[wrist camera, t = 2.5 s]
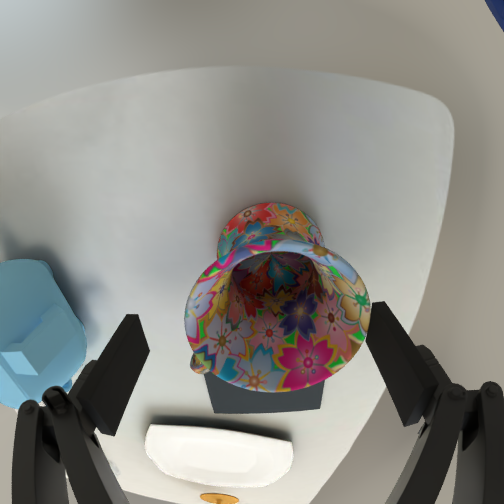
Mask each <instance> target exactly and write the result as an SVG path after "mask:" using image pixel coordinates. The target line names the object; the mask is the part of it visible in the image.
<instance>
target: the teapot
mask: <svg viewBox="0 0 504 504" xmlns="http://www.w3.org/2000/svg"><path fill="white" fill-rule="evenodd" d="M86 348H87V341H86V336H85V328H84V325H83V324H82V322H81V321H80V320H79V319H78V318H77V317H76V316H75V315H74V313H73V311H72V309H71V308H70V306H69V304H68V302H67V301H66V299H65V297H64V296H63V294H62V292H61V291H60V289H59V287H58V286H57V284H56V282H55V281H54V279H53V272H52V270H51V268H50V266H49V265H48V264H47V263H46V262H45V261H43V260H39V261H36V260H31V259H14V260H9V261H5V262H2V263H0V403H1V404H4V405H6V406H8V407H11V408H15V409H19V407H20V405H21V404H22V403H23V402H25V401H26V400H29V399H32V400H35V401H37V403H39V402H41V401H42V395H43V393H44V391H45V390H47V389H48V388H50V387H52V386H61V387H62V388H63V389H64V390H65V392H68V391H69V390H70V389H71V387H72V380H71V377H72V376H73V375H74V374H75V373H76V372H77V371H78V369H79V368H80V366H81V365H82V363H83V362H84V360H85V357H86Z"/></svg>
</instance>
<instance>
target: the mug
mask: <svg viewBox="0 0 504 504" xmlns="http://www.w3.org/2000/svg"><path fill="white" fill-rule="evenodd" d="M184 321H185V330H186V335H187V338H188V341H189V344H190V346H191V348H192V350H193V352H194V353H193V356H192V358H191V362H190V367H191V369H192V370H193V371H194V372H196V373H198V374H205V373H207V372H209V371H211V372H212V373H213V374H215V375H216V376H218V377H219V378H221V379H223V380H225V381H226V382H228V383H231V384H233V385H235V386H238V387H241V388H245V389H249V390H254V391H260V392H287V391H293V390H298V389H302V388H306V387H309V386H312V385H314V384H317V383H319V382H321V381H323V380H325V379H327V378H329V377H330V376H332V375H333V374H335V373H336V372H338V371H339V370H340V369H342V368H343V367H344V366H345V365H346V364H347V363H348V362H349V361H350V360H351V359H352V358H353V357H354V355H355V354H356V353H357V351H358V350H359V348H360V347H361V345H362V343H363V341H364V339H365V337H366V334H367V331H368V327H369V323H370V300H369V296H368V292H367V290H366V287H365V285H364V283H363V281H362V279H361V277H360V276H359V275H358V273H357V272H356V270H355V269H354V268H353V267H352V266H351V265H350V264H349V263H348V262H347V261H346V260H344V259H343V258H342V257H340V256H339V255H337V254H336V253H334V252H332V251H330V250H328V249H327V248H325V247H324V241H323V238H322V235H321V233H320V231H319V229H318V227H317V225H316V224H315V223H314V222H313V220H312V219H311V218H310V217H309V216H307V215H306V214H305V213H303V212H302V211H300V210H299V209H297V208H295V207H292V206H289V205H286V204H281V203H263V204H258V205H254V206H251V207H249V208H247V209H245V210H243V211H241V212H240V213H238V214H237V215H236V216H235V217H233V218H232V219H231V220H230V222H229V223H228V224H227V225H226V227H225V228H224V230H223V232H222V234H221V236H220V239H219V242H218V248H217V260H216V261H215V262H214V263H213V264H212V265H210V266H209V267H208V268H207V269H206V270H205V271H204V272H203V273H202V275H201V276H200V277H199V279H198V280H197V281H196V283H195V285H194V286H193V288H192V290H191V292H190V295H189V297H188V300H187V303H186V308H185V318H184ZM200 363H201V364H200Z"/></svg>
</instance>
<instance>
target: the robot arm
mask: <svg viewBox="0 0 504 504" xmlns="http://www.w3.org/2000/svg"><path fill="white" fill-rule="evenodd" d="M503 1H504V0H503ZM366 343H367V345H368V348H369V350H370V352H371V354H372V356H373V358H374V360H375V362H376V364H377V367H378V369H379V371H380V373H381V375H382V377H383V380H384V382H385V384H386V386H387V388H388V391H389V393H390V395H391V397H392V400H393V402H394V404H395V407H396V409H397V411H398V414H399V416H400V418H401V421H402V423H403V426H404V427H406V426H409V425H412V424H415V423H418V422H419V420H420V419H421V417H422V415H423V417H424V419H425V422H424V424H423V426H422V427H421V429H420V430H419V432H418V434H419V436H418V439H417V441H416V444H415V446H414V448H413V450H412V453H411V455H410V457H409V459H408V461H407V463H406V465H405V467H404V470H403V472H402V473H401V475H400V478H399V479H398V482H397V483H396V485H395V487H394V489H393V490H392V492H391V494H390V496H389V497H388V499H387V501H386V503H385V504H435V501H436V499H437V497H438V495H439V492H440V490H441V487H442V485H443V482H444V480H445V477H446V474H447V472H448V468H449V466H450V463H451V460H452V457H453V454H454V450H455V447H456V444H457V440H458V455H457V470H456V479H455V480H456V481H455V488H454V495H453V502H452V504H504V397H503V391H502V389H501V387H500V386H499V385H498V384H497V383H495V382H491V381H489V382H485V383H484V384H483V385H482V387H481V389H480V390H469V391H468V390H466V389H465V388H464V387H462V386H461V385H459V384H455V383H452V382H451V380H450V379H449V377H448V376H447V374H446V373H445V371H444V370H443V368H442V367H441V365H440V364H439V362H438V361H437V359H436V358H435V356H434V355H433V353H432V352H431V350H429V349H428V348H427V347H425V346H424V345H420V346H415V345H414V344H413V342H412V340H411V339H410V337H409V336H408V334H407V333H406V331H405V330H404V328H403V327H402V325H401V324H400V323H399V321H398V320H397V318H396V317H395V315H394V314H393V313H392V311H391V310H390V308H389V307H388V306H387V304H386V303H385V301H383V302H374V303H372V308H371V314H370V323H369V327H368V331H367V336H366ZM149 352H150V350H149V347H148V344H147V341H146V338H145V335H144V331H143V328H142V325H141V322H140V319H139V315H138V314H127V315H126V316H125V318H124V319H123V321H122V322H121V324H120V325H119V327H118V328H117V330H116V331H115V333H114V334H113V336H112V338H111V339H110V341H109V342H108V344H107V345H106V347H105V349H104V350H103V352H102V353H101V355H100V357H99V358H98V360H91V361H90V362H89V363H88V364H87V365H85V367H84V369H83V370H82V372H81V374H80V375H79V377H78V379H77V380H76V382H75V383H74V385H73V386H72V388H71V390H70V391H69V393H68V395H67V393H66V392H65V390H64V389H63V388H62V387H61V386H52V387H50V388H48V389H47V390H45V391H44V393H43V395H42V401H43V402H44V404H45V405H46V406H44V407H40V406H39V404H38V403H37V401H35V400H32V399H29V400H26V401H25V402H23V403H22V404H21V405H20V407H19V411H18V418H17V423H16V431H15V439H14V449H13V462H12V504H69V500H68V492H67V484H66V473H67V476H68V479H69V482H70V484H71V487H72V490H73V492H74V495H75V497H76V500H77V502H78V504H130V503H129V501H128V500H127V498H126V496H125V494H124V493H123V491H122V489H121V487H120V485H119V483H118V481H117V479H116V477H115V475H114V473H113V471H112V469H111V467H110V465H109V463H108V461H107V459H106V457H105V454H104V452H103V450H102V448H101V445H100V443H99V441H98V438H97V436H96V434H95V433H94V431H95V428H96V427H97V428H98V430H99V431H100V432H101V433H102V434H106V435H111V436H115V434H116V431H117V429H118V426H119V424H120V421H121V419H122V416H123V414H124V411H125V409H126V406H127V404H128V401H129V399H130V397H131V394H132V392H133V389H134V387H135V385H136V382H137V380H138V378H139V375H140V373H141V371H142V368H143V366H144V364H145V361H146V359H147V357H148V355H149ZM65 470H66V472H65Z"/></svg>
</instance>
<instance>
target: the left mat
mask: <svg viewBox="0 0 504 504" xmlns="http://www.w3.org/2000/svg"><path fill="white" fill-rule="evenodd" d="M204 377H205V380H206V384H207V388H208V392H209V396H210V399H211V403H212V407H213V410H214V413H225V414H249V413H277V412H292V411H304V410H314V409H320V405H321V400H322V394H323V387H324V381H325V380H323V381H321V382H319V383H317V384H314V385H312V386H309V387H306V388H302V389H298V390H293V391H287V392H260V391H254V390H249V389H245V388H241V387H238V386H235V385H233V384H231V383H228V382H226V381H225V380H223V379H221V378H219V377H218V376H216V375H215V374H213V373H212V372H211V371H209V372H207V373H205V374H204Z"/></svg>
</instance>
